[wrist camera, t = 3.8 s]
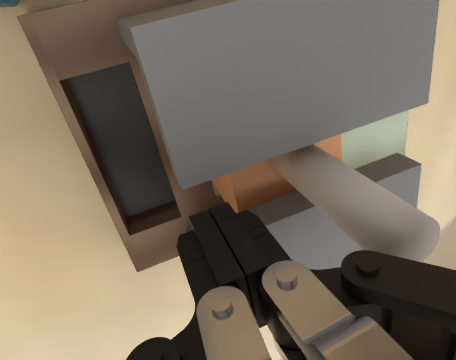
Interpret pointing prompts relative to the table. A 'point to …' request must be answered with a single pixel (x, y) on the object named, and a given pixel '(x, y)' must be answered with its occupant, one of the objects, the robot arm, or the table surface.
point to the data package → (8, 3)
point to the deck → (141, 124)
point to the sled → (335, 199)
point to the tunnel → (283, 93)
